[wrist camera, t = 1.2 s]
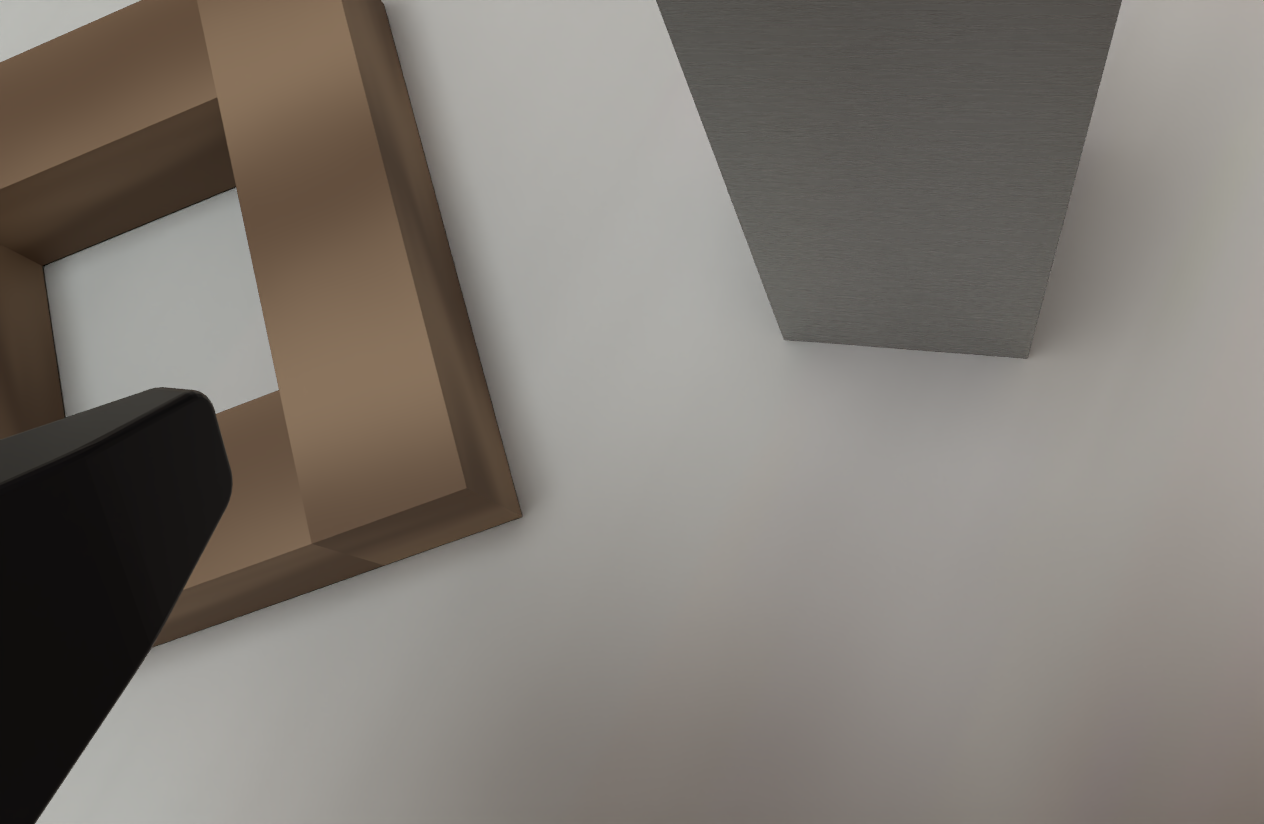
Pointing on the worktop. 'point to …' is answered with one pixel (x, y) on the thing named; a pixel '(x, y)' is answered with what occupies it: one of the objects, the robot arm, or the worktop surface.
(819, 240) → the steel peg
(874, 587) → the worktop surface
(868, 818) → the worktop surface
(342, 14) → the wooden square hole board
